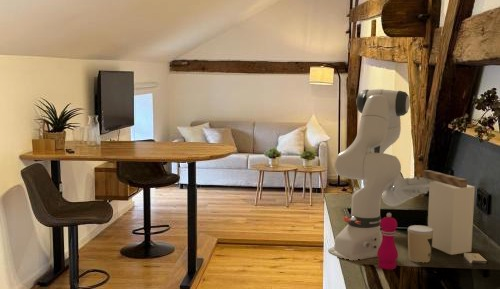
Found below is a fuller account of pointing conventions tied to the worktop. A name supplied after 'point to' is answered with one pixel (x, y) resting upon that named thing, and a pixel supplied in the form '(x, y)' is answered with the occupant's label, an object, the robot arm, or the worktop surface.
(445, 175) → the walnut bar
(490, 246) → the worktop surface
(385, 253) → the pepper mill
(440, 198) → the cream stand
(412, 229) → the coffee cup
